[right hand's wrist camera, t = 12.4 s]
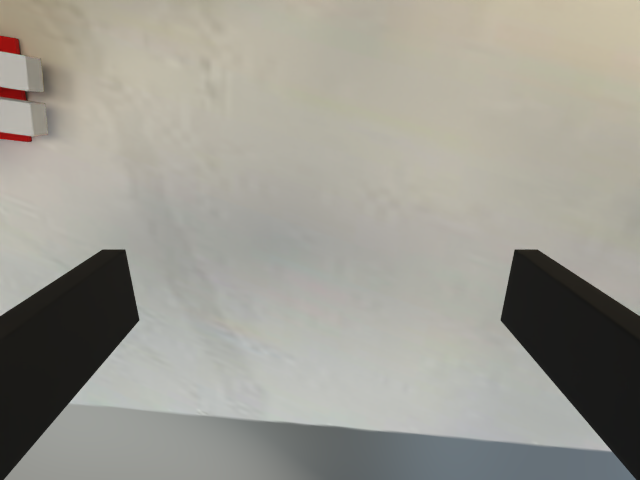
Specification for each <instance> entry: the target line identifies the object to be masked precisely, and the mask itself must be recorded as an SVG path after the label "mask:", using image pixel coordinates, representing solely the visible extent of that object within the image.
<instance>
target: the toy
mask: <svg viewBox="0 0 640 480" xmlns="http://www.w3.org/2000/svg"><path fill="white" fill-rule="evenodd" d="M25 91H32V92H44V86H43V75H42V64H41V59H40V58H35V57H30V56H24V55H20V49H19V41H18V39H16V38H10V37H4V36H0V139H7V140H16V141H25V142H31V141H32V140H31V136H33V137H34V136H41V135H48V130H47V119H46V108H45V103H38V102H32V101H26V94H25Z"/></svg>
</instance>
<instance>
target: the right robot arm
mask: <svg viewBox="0 0 640 480" xmlns="http://www.w3.org/2000/svg"><path fill="white" fill-rule="evenodd" d="M138 321H139V316H138V311H137V306H136V301H135V296H134V291H133V286H132V281H131V276H130V271H129V266H128V261H127V256H126V251H125V250H101V251H100V252H98V253H97V254H95V255H94V256H92V257H91V258H89V259H87V260H86V261H84V262H83V263H81V264H80V265H78V266H77V267H75V268H74V269H72V270H71V271H69V272H67V273H66V274H64V275H63V276H61V277H60V278H58V279H57V280H55V281H54V282H52V283H51V284H49V285H48V286H46V287H44V288H43V289H41V290H40V291H38V292H37V293H35V294H34V295H32V296H31V297H29V298H28V299H26V300H24V301H23V302H21V303H20V304H18V305H17V306H15V307H14V308H12V309H11V310H9V311H8V312H6V313H5V314H3V315H1V316H0V480H4V479H5V477H6V476H7V475H8V474H9V473H10V472H11V470H12V469H13V468H14V467H15V466H16V465H17V463H18V462H19V461H20V460H21V459H22V457H23V456H24V455H25V454H26V453H27V452H28V450H29V449H30V448H31V447H32V446H33V445H34V443H35V442H36V441H37V440H38V439H39V438H40V436H41V435H42V434H43V433H44V432H45V430H46V429H47V428H48V427H49V426H50V425H51V423H52V422H53V421H54V420H55V419H56V418H57V416H58V415H59V414H60V413H61V412H62V411H63V409H64V408H65V407H66V406H67V405H68V403H69V402H70V401H71V400H72V399H73V398H74V396H75V395H76V394H77V393H78V392H79V391H80V389H81V388H82V387H83V386H84V385H85V383H86V382H87V381H88V380H89V379H90V378H91V376H92V375H93V374H94V373H95V372H96V371H97V369H98V368H99V367H100V366H101V365H102V364H103V362H104V361H105V360H106V359H107V358H108V356H109V355H110V354H111V353H112V352H113V351H114V349H115V348H116V347H117V346H118V345H119V344H120V342H121V341H122V340H123V339H124V338H125V337H126V335H127V334H128V333H129V332H130V331H131V329H132V328H133V327H134V326H135V325H136V324H137V322H138ZM501 321H502V322H503V324H504V325H505V326H506V327H507V328H508V329H509V331H510V332H511V333H512V334H513V335H514V337H515V338H516V339H517V340H518V341H519V342H520V344H521V345H522V346H523V347H524V348H525V349H526V351H527V352H528V353H529V354H530V355H531V356H532V358H533V359H534V360H535V361H536V362H537V364H538V365H539V366H540V367H541V368H542V369H543V371H544V372H545V373H546V374H547V375H548V376H549V378H550V379H551V380H552V381H553V382H554V383H555V385H556V386H557V387H558V388H559V389H560V391H561V392H562V393H563V394H564V395H565V396H566V398H567V399H568V400H569V401H570V402H571V403H572V405H573V406H574V407H575V408H576V409H577V411H578V412H579V413H580V414H581V415H582V416H583V418H584V419H585V420H586V421H587V422H588V423H589V425H590V426H591V427H592V428H593V429H594V430H595V432H596V433H597V434H598V435H599V436H600V438H601V439H602V440H603V441H604V442H605V443H606V445H607V446H608V447H609V448H610V449H611V450H612V452H613V453H614V454H615V455H616V456H617V458H618V459H619V460H620V461H621V462H622V463H623V465H624V466H625V467H626V468H627V469H628V470H629V472H630V473H631V474H632V475H633V476H634V477H635V479H636V480H640V316H639V315H637V314H635V313H634V312H632V311H631V310H629V309H628V308H626V307H625V306H623V305H622V304H620V303H619V302H617V301H616V300H614V299H612V298H611V297H609V296H608V295H606V294H605V293H603V292H602V291H600V290H599V289H597V288H596V287H594V286H592V285H591V284H589V283H588V282H586V281H585V280H583V279H582V278H580V277H579V276H577V275H576V274H574V273H573V272H571V271H569V270H568V269H566V268H565V267H563V266H562V265H560V264H559V263H557V262H556V261H554V260H553V259H551V258H549V257H548V256H546V255H545V254H543V253H542V252H540V251H539V250H515V251H514V256H513V261H512V266H511V271H510V276H509V281H508V286H507V291H506V296H505V301H504V306H503V311H502V316H501Z"/></svg>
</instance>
